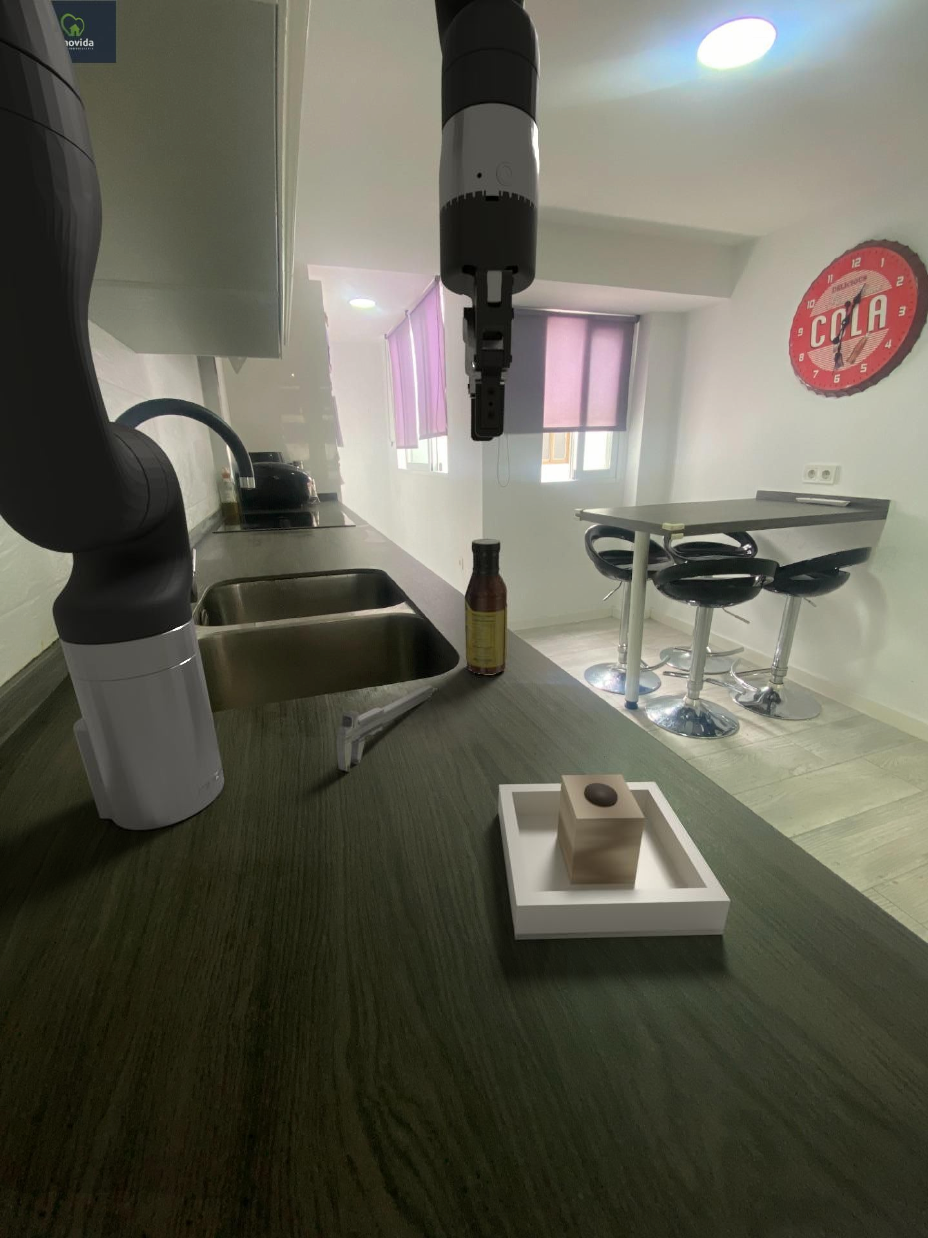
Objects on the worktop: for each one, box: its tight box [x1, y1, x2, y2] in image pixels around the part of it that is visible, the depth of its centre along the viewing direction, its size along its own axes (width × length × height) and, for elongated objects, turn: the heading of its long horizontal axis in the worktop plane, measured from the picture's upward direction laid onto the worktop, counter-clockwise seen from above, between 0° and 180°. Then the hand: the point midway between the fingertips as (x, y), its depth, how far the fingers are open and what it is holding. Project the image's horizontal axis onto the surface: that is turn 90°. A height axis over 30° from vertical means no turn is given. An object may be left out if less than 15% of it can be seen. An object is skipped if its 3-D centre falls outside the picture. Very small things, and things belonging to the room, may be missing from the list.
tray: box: [497, 781, 731, 941], centre depth 37 cm, size 14×12×3 cm
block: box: [557, 773, 645, 885], centre depth 36 cm, size 5×5×6 cm
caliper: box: [336, 685, 437, 773], centre depth 56 cm, size 20×1×6 cm, turn 156°
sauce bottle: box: [464, 538, 508, 674], centre depth 69 cm, size 7×6×20 cm
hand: (485, 439), depth 41 cm, fingers open, 8 cm apart
